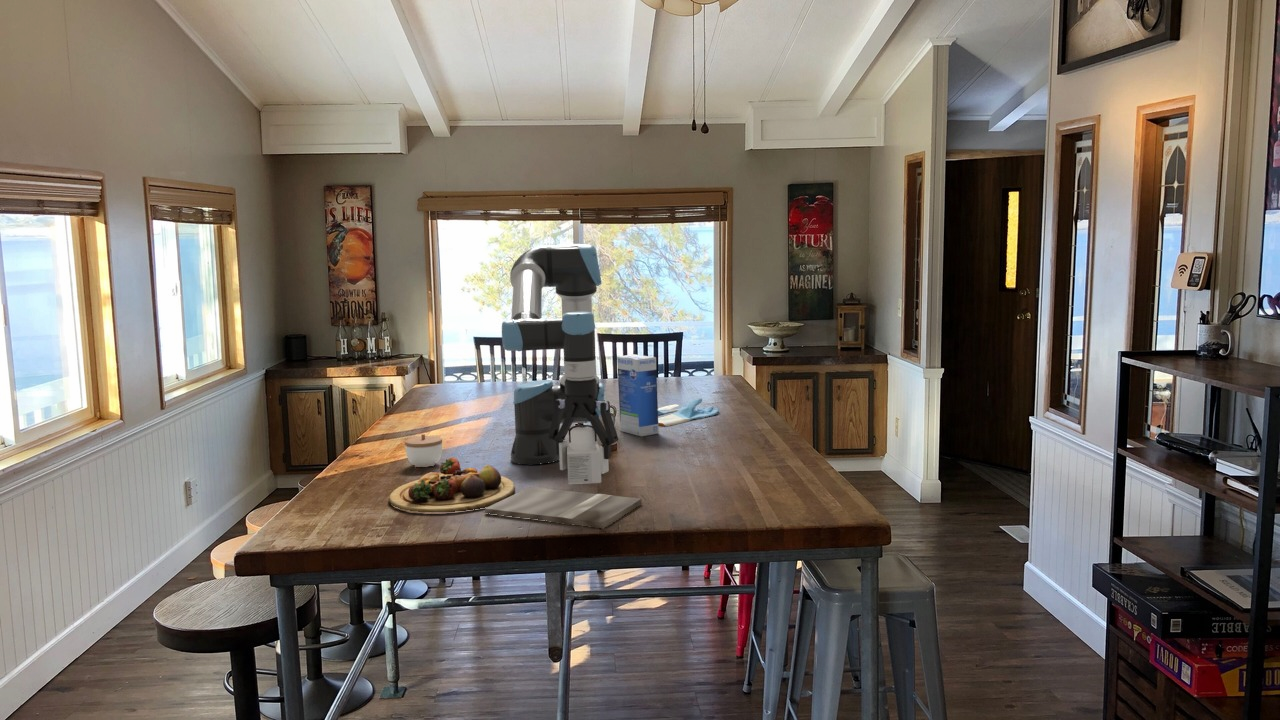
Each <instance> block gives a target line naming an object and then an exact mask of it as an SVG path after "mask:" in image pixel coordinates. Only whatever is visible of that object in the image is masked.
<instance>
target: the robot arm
mask: <svg viewBox="0 0 1280 720" xmlns="http://www.w3.org/2000/svg"><path fill="white" fill-rule="evenodd" d="M509 274H510V275H509V281H510V285H511V286H512V301H511V302H512V306H511V318H510V319H509V320H508V319H506V320H504V321H503V322H502V323H501V342H502V348H503V349H504V350H505V351H507V352H509V351H511V352H522V351H542V350H543V351H545V350H547V351H548V350H563V371H564V374H563V375H562V377H560V379H559V384H554V383H553V381H552V380H551V379H538V380H533V381H529V382H526V383H522V384H520V385H517V386H516V387H515V388H514V390H513V405H514V426H515V427H514V428H515V434H514V435H515V436H514V440H513V443H512V447H511V450H510V461H511V462H512V461H513V462H515V463H514V464H516V463H520V464H519V465H522V464H540V463H548V462H552V463H554V462H553V461H556V462H558V461H559V470H560V471H564V470H566V469H568V466H567V446H568V440H566V437H567V434H569V429H570V428H571V427H572V425H573V424H587V423H590V425H591V426H593V428H594V430H595V432H596V434H597V438H598V439H599V440H600V442H601V445H599V448H600V472H601V475H604V474H605V473H608V472H609V469H610V468H609V467H610V466H609V460H610V459H611V458H612V445H613V444H615V443H618V442H619V436H618V433H617V430H616V427H615V426H616V425H615V423H614V420H613V417H612V414H611V411H610V409H611V408H610V407H611V405H610V401H609V400H606V401H604V400H605V385H604V383H603V382H600V378H599V376H598V374H597V361H596V324H595V316H594V313H593V303H592V301H593V300H592V299H593V298H592V297H593V296H594V295H595V294H596V293H597V289H598V288H597V287H599V286H601V285H602V279H601V270H600V266H599V258H598V254H597V249H596V247H595V245H592V244H583V243H568V244H551V245H549V244H548V245H547V244H544V245H543V244H542V245H537V246H534V247H532V248H530V249H528V250H526V251H524V253H522V255H520V256H519V257H518V258H517V259H516V260H515V262H514V263H513V264H512V267H511V269H510V273H509ZM545 287H546V288H547V287H548V288H552V287H553V288H555V293H556V294H557V295H558V297H560V299H561V315H562V316H561V317H562V318H561V317H558V318H542V315H543V314H542V312H543V311H542V309H543V307H542V306H543V304H542V300H543V298H542V297H543V295H542V294H543V293H542V292H543V291H542V289H543V288H545ZM601 420H602V421H601ZM559 459H560V460H559ZM557 460H558V461H557ZM513 462H512V463H513ZM548 464H549V463H548ZM540 465H541V464H540Z"/></svg>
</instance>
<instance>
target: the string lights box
mask: <svg viewBox="0 0 1280 720" xmlns="http://www.w3.org/2000/svg"><path fill="white" fill-rule="evenodd" d="M616 359H617V360H616V361H617V362H616V363H617V378H618V379H617V384H618V404H619V405H618V407H619V423H620V424H619V425H620V428H619V429H620V431H619V432H623V433H627V434H631V435H635V436H638V437H647V436H652V435H656V434H659V428H660V427H659V425H658V423H659V422H658V418H659V415H658V408H659V407H658V403H659V402H658V379H657V376H658V375H657V357H656V356H651V355H650V356H649V355H648V356H647V355H642V354H635V353H633V354H626V355H618V356H616Z"/></svg>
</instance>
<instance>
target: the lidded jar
mask: <svg viewBox="0 0 1280 720" xmlns="http://www.w3.org/2000/svg"><path fill="white" fill-rule="evenodd" d="M404 445H405V453H406V457H407V460H408V461H409V462H410V464H412V465H417V466H426V465H432V464H435V463H436V464H437V463H438V462H439V461H440V459H441V457H442V453H443V452H442V451H443V438H442V437H440V436H436V435H426V434H425V433H423V434H422V433H421V436H416V437H410V438H408V439H406V440H405V441H404Z"/></svg>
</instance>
